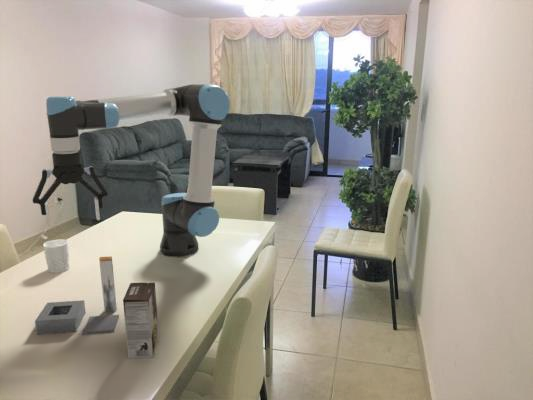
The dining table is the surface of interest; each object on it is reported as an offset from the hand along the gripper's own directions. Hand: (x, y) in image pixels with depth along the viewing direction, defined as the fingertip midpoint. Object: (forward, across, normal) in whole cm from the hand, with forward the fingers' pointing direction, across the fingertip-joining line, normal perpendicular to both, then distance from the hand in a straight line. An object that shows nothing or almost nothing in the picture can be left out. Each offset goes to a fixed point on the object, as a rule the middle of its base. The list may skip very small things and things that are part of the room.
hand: (74, 222), depth 130 cm
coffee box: (+25, -11, +37) cm, 46 cm away
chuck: (+24, +7, +14) cm, 29 cm away
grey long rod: (+24, -6, +13) cm, 28 cm away
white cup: (+25, +5, -25) cm, 36 cm away
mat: (+24, -3, +20) cm, 32 cm away
